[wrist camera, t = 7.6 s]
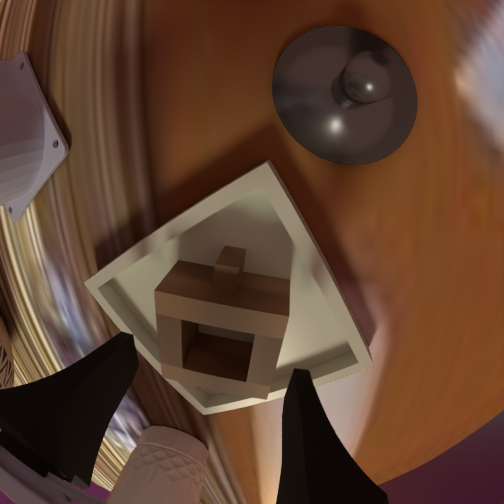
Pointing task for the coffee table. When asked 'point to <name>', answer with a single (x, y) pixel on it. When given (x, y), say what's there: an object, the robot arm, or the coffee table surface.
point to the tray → (256, 261)
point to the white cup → (162, 469)
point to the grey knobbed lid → (344, 95)
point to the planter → (5, 358)
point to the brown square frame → (221, 324)
